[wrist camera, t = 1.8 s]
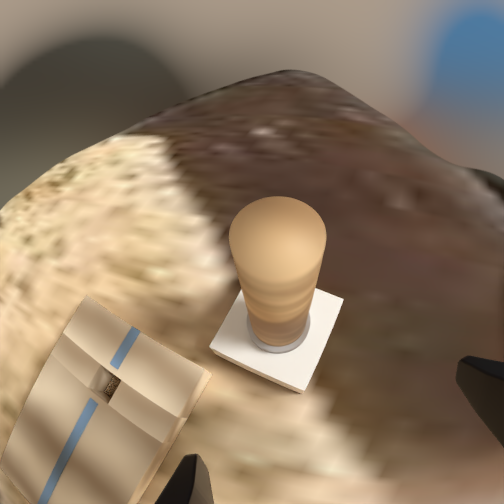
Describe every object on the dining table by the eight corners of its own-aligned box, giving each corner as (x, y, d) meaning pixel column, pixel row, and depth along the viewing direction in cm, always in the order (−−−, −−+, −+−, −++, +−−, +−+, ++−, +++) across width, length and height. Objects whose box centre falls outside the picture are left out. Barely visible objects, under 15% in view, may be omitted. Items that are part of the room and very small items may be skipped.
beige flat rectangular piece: (107, 552, 13) (91, 560, 10) (16, 466, 16) (-2, 465, 14) (212, 374, 21) (204, 368, 19) (100, 306, 25) (85, 294, 23)
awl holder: (301, 394, 20) (304, 390, 18) (216, 354, 22) (209, 346, 20) (337, 311, 23) (343, 299, 21) (257, 279, 25) (255, 264, 23)
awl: (292, 369, 21) (310, 303, 10) (240, 346, 22) (200, 258, 11) (315, 319, 23) (347, 210, 12) (265, 299, 24) (252, 179, 13)
